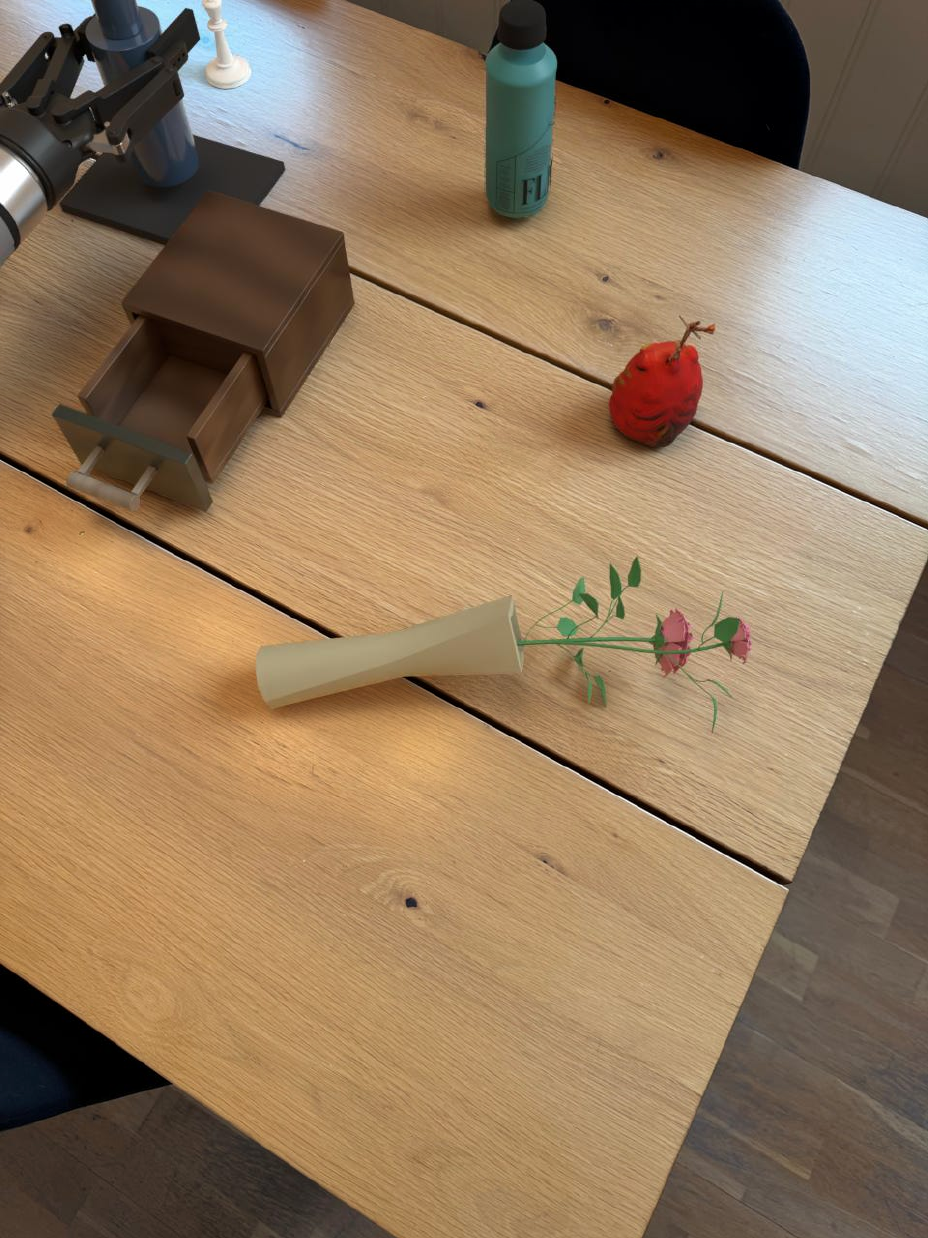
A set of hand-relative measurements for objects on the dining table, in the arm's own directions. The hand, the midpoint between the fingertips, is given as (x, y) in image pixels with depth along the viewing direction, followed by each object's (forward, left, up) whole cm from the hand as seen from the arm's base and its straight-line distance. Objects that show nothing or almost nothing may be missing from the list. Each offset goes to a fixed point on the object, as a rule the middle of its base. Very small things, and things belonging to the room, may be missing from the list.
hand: (158, 14), depth 92 cm
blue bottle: (0, -5, -12) cm, 13 cm away
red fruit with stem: (+54, -14, -15) cm, 58 cm away
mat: (0, -5, -15) cm, 16 cm away
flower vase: (+51, -42, -15) cm, 68 cm away
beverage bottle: (+33, +6, -15) cm, 37 cm away
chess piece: (-4, +13, -15) cm, 21 cm away
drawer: (+17, -33, -14) cm, 40 cm away
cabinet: (+17, -19, -15) cm, 30 cm away
